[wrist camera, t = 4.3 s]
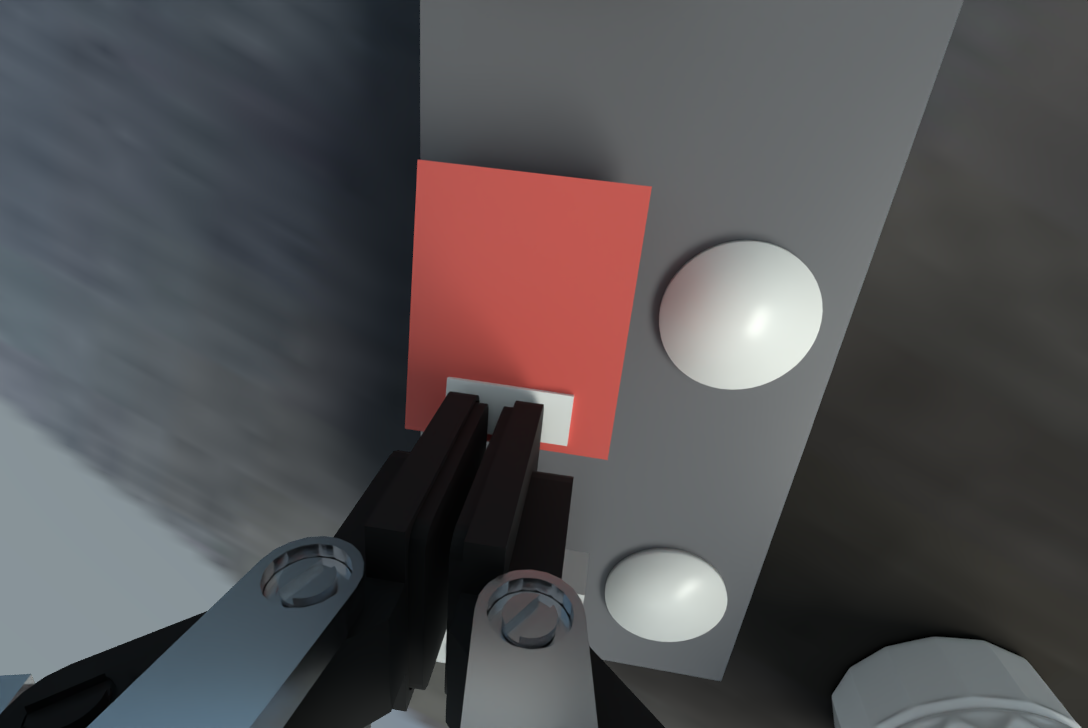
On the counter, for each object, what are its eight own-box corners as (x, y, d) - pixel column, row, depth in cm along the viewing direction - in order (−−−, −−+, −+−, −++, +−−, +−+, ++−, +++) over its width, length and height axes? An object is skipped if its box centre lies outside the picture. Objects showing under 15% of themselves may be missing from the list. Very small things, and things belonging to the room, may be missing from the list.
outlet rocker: (435, 163, 10) (415, 159, 9) (647, 189, 10) (652, 187, 9) (421, 411, 12) (403, 430, 11) (607, 439, 11) (607, 462, 10)
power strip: (485, -745, 8) (397, -1296, 5) (1124, -754, 8) (1501, -1403, 4) (448, 554, 19) (414, 643, 16) (707, 598, 19) (724, 701, 15)
